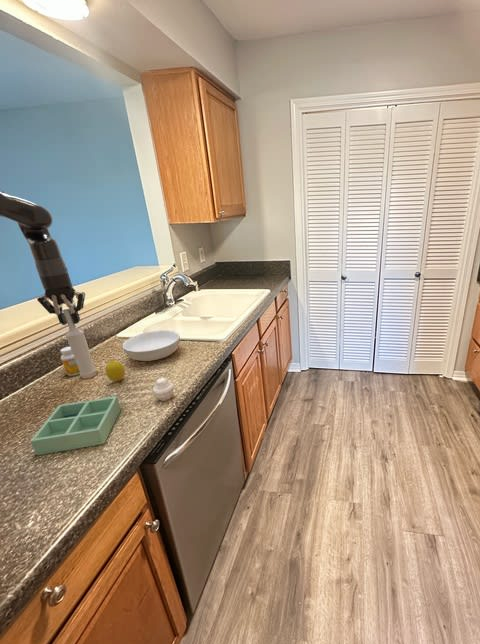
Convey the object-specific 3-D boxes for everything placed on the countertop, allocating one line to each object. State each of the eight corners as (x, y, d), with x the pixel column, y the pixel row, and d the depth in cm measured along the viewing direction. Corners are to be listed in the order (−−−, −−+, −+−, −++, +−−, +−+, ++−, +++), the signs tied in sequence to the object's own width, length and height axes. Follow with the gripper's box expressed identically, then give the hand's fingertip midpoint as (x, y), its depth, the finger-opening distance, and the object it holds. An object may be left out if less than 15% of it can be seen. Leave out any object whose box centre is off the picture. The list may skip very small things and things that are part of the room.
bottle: (80, 380, 114) (56, 313, 104) (81, 374, 118) (57, 309, 108) (97, 375, 116) (75, 309, 106) (97, 370, 120) (75, 306, 110)
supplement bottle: (65, 372, 120) (56, 349, 116) (82, 367, 123) (74, 344, 119) (68, 377, 116) (59, 353, 112) (85, 372, 119) (77, 348, 115)
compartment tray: (36, 455, 80) (29, 441, 78) (64, 418, 94) (58, 405, 92) (104, 443, 82) (99, 429, 81) (121, 409, 96) (117, 396, 95)
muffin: (179, 396, 101) (175, 377, 98) (161, 406, 97) (156, 386, 94) (169, 390, 105) (165, 371, 102) (151, 399, 100) (146, 379, 98)
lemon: (108, 387, 108) (101, 366, 105) (110, 379, 113) (103, 359, 110) (127, 382, 110) (120, 362, 107) (127, 375, 115) (121, 355, 112)
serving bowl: (148, 372, 116) (144, 355, 114) (116, 360, 127) (111, 344, 124) (193, 350, 132) (190, 334, 130) (161, 341, 143) (157, 326, 140)
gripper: (21, 277, 98) (42, 330, 104) (72, 273, 100) (89, 324, 107) (34, 272, 104) (53, 322, 111) (82, 268, 107) (97, 317, 114)
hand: (71, 323), depth 109 cm, fingers open, 3 cm apart
